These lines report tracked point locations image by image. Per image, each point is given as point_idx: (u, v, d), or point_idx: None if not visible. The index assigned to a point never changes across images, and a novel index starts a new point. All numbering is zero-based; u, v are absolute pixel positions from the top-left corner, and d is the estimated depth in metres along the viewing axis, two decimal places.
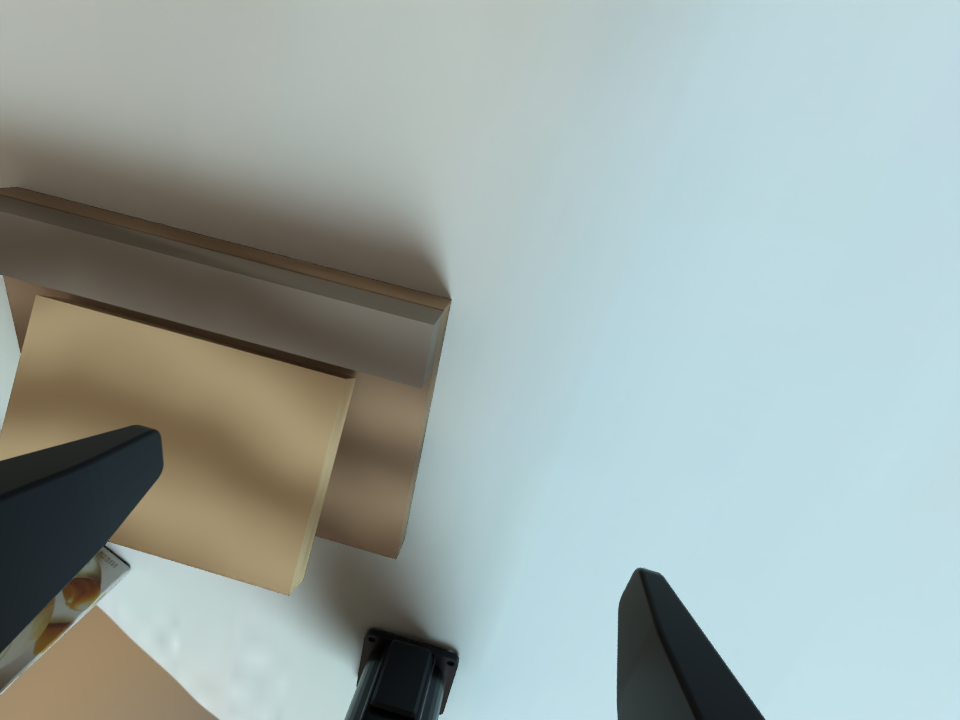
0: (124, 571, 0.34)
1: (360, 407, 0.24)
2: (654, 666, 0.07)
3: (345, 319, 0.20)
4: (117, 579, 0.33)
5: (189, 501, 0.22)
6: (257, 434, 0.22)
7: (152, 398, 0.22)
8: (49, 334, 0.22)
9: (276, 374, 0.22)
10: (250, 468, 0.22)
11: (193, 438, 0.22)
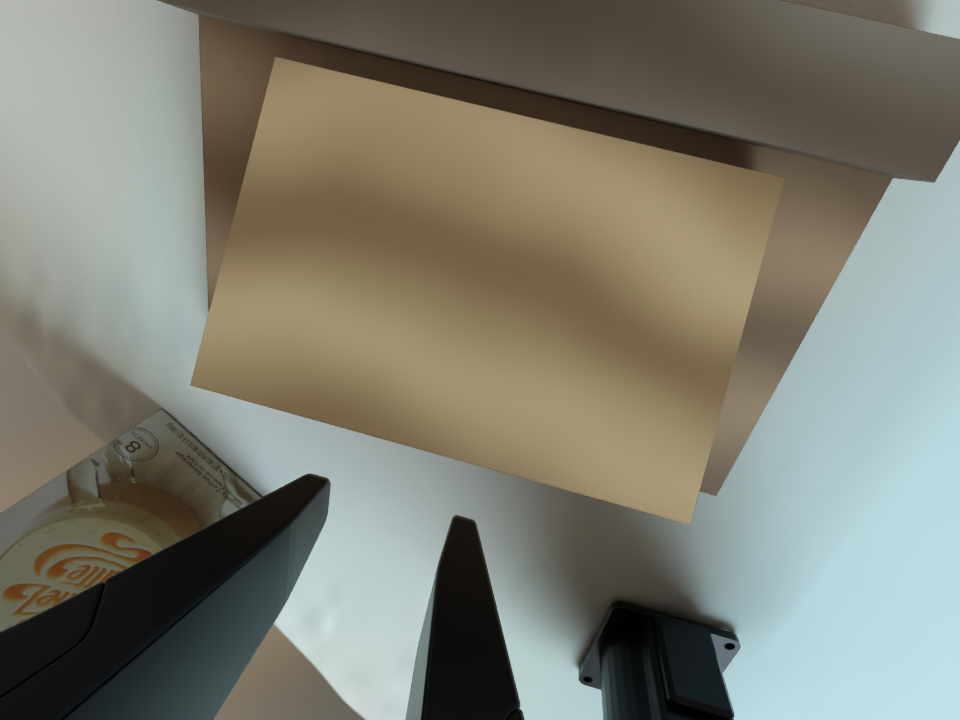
0: None
1: None
2: (430, 600, 0.07)
3: (839, 53, 0.12)
4: None
5: (524, 377, 0.14)
6: (637, 268, 0.14)
7: (464, 215, 0.14)
8: (297, 118, 0.14)
9: (669, 172, 0.14)
10: (626, 323, 0.14)
11: (532, 276, 0.14)
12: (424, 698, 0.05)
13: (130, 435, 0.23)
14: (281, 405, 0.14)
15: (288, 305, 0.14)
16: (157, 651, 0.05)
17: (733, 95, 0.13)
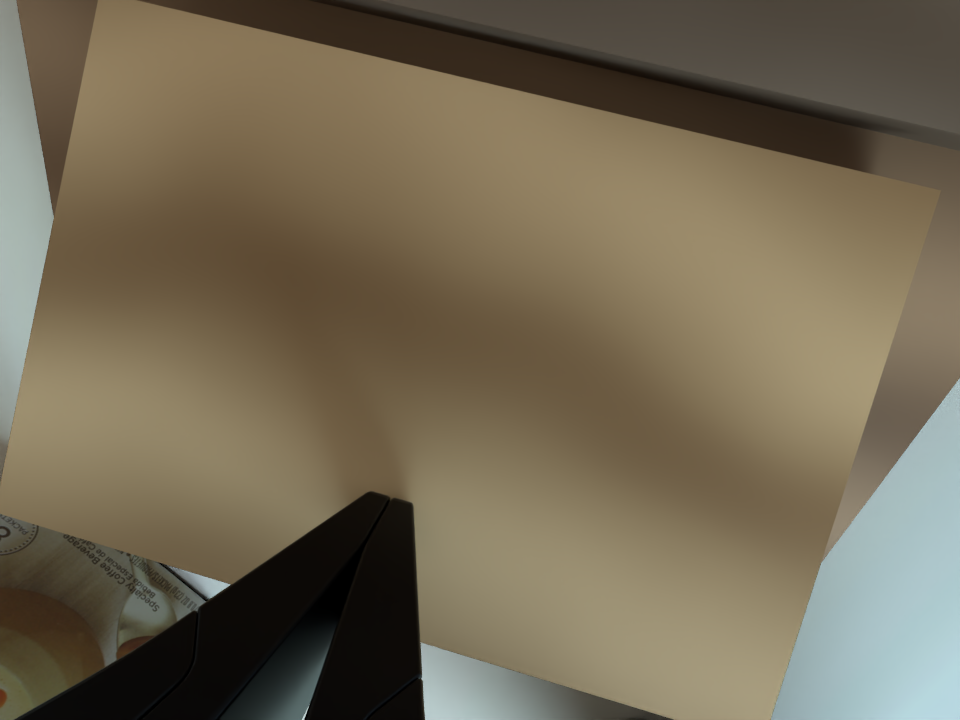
0: None
1: None
2: None
3: None
4: None
5: (502, 512, 0.09)
6: (687, 340, 0.08)
7: (406, 252, 0.09)
8: (137, 93, 0.09)
9: (743, 182, 0.08)
10: (666, 429, 0.08)
11: (514, 353, 0.09)
12: (322, 667, 0.05)
13: None
14: (130, 546, 0.09)
15: (134, 394, 0.09)
16: (257, 682, 0.05)
17: (870, 40, 0.07)
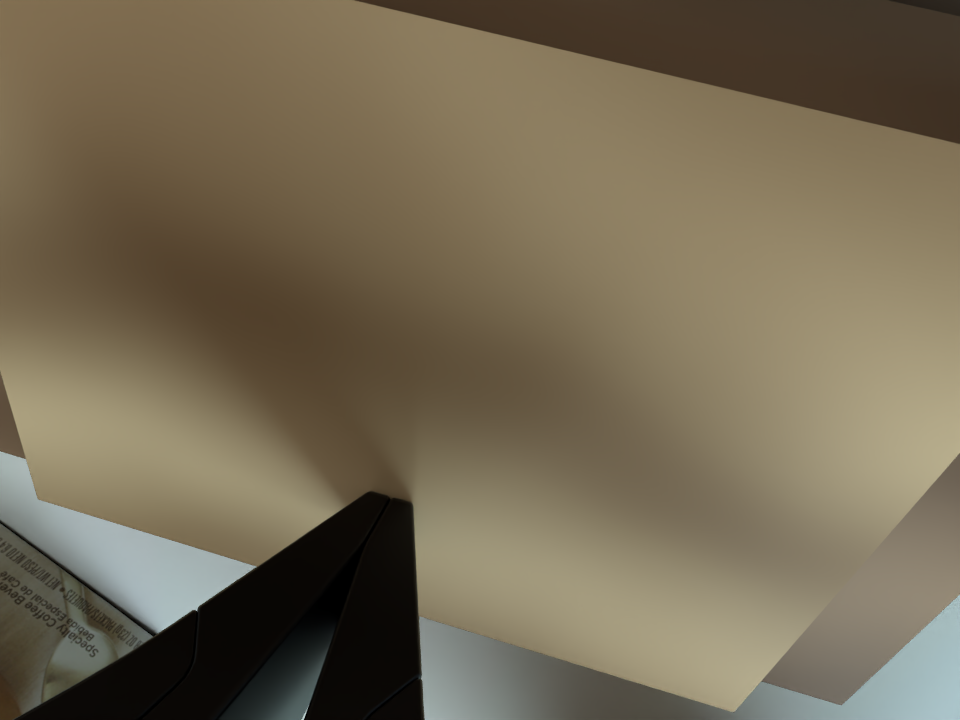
0: None
1: None
2: None
3: None
4: None
5: (495, 535, 0.09)
6: (716, 391, 0.07)
7: (364, 278, 0.07)
8: None
9: (843, 184, 0.05)
10: (678, 478, 0.07)
11: (503, 395, 0.07)
12: (322, 667, 0.05)
13: None
14: (159, 532, 0.10)
15: (116, 413, 0.09)
16: (257, 682, 0.05)
17: None
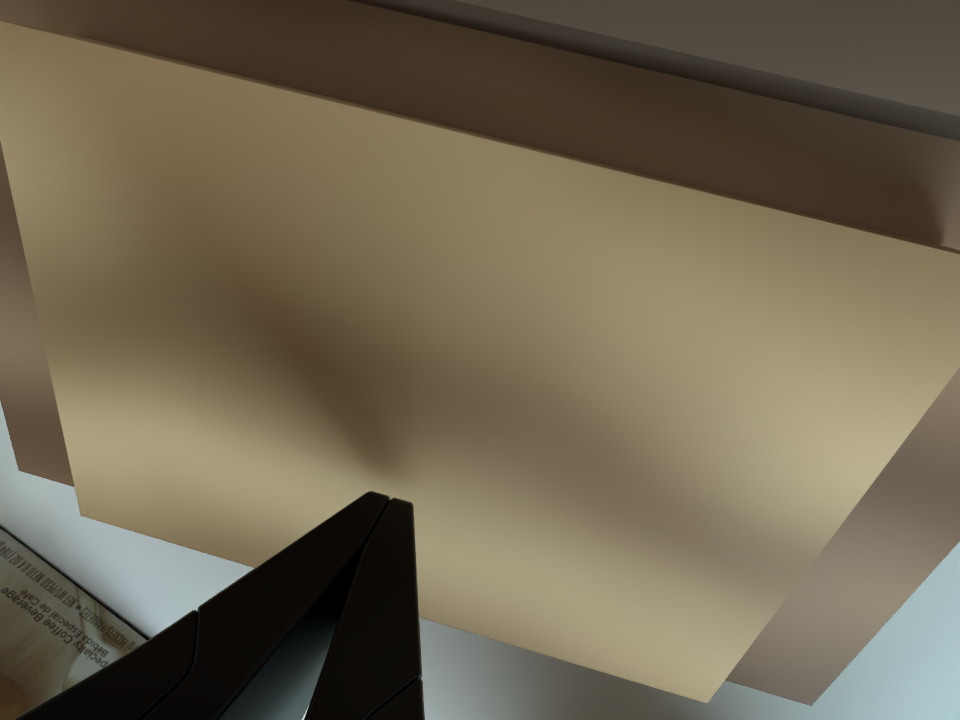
0: None
1: None
2: None
3: None
4: None
5: (493, 544, 0.10)
6: (678, 421, 0.08)
7: (381, 326, 0.08)
8: (62, 149, 0.08)
9: (770, 258, 0.07)
10: (649, 494, 0.09)
11: (499, 424, 0.09)
12: (322, 667, 0.05)
13: None
14: (191, 544, 0.11)
15: (158, 439, 0.10)
16: (257, 682, 0.05)
17: None
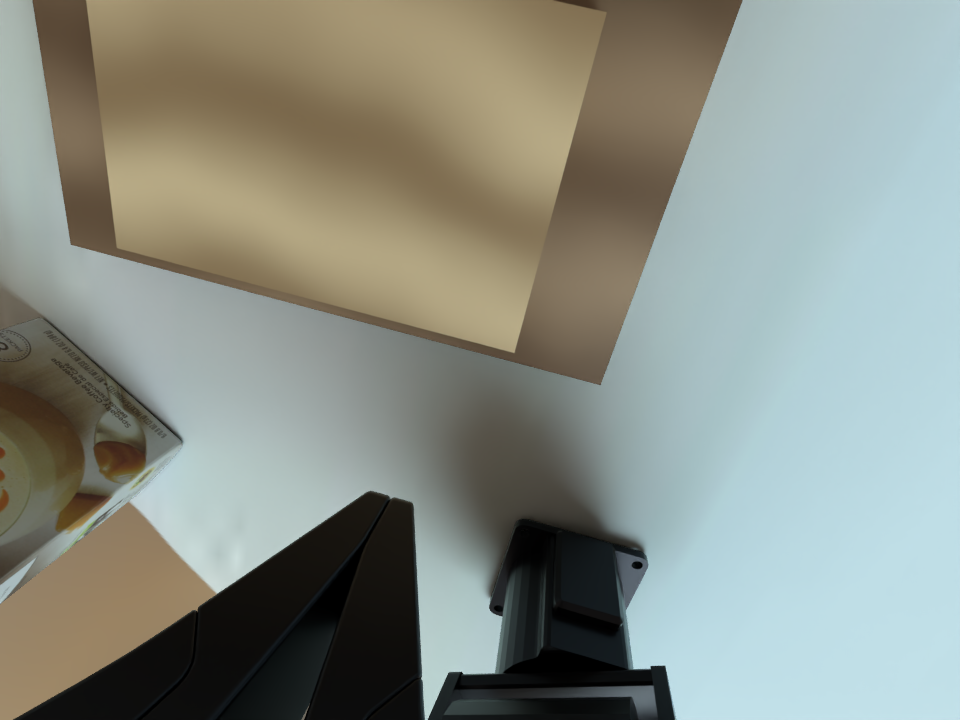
0: (176, 444, 0.25)
1: (596, 90, 0.15)
2: None
3: None
4: (167, 453, 0.24)
5: (372, 235, 0.16)
6: (460, 127, 0.14)
7: (295, 77, 0.14)
8: None
9: (486, 14, 0.13)
10: (454, 183, 0.15)
11: (365, 140, 0.15)
12: (322, 667, 0.05)
13: None
14: (189, 263, 0.18)
15: (168, 176, 0.16)
16: (257, 682, 0.05)
17: None
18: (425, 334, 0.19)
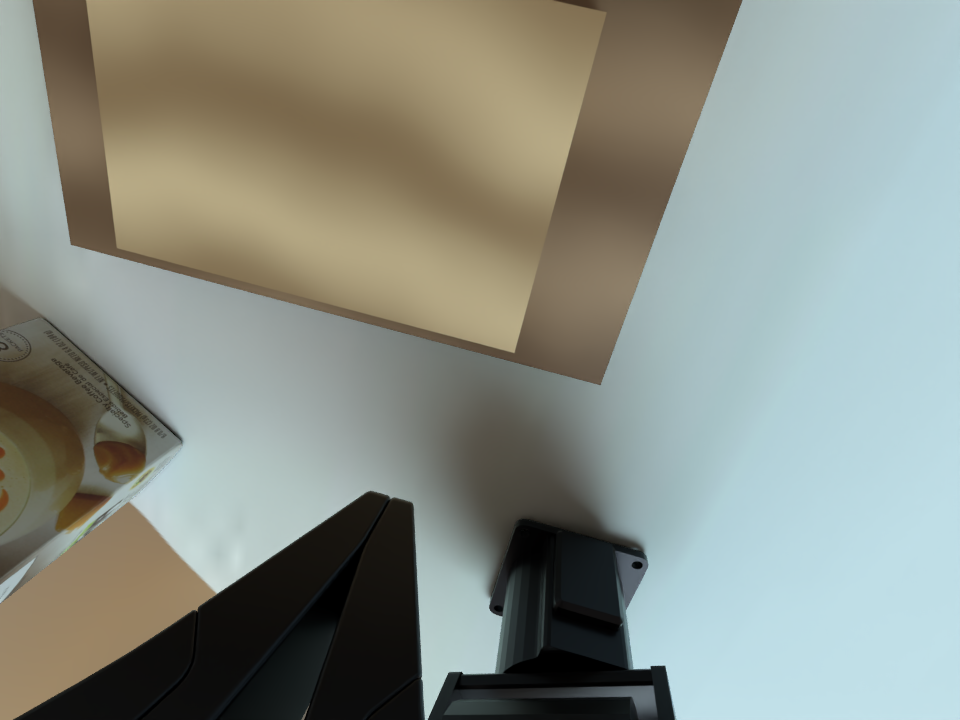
0: (176, 445, 0.25)
1: (596, 90, 0.15)
2: None
3: None
4: (167, 453, 0.24)
5: (372, 235, 0.16)
6: (460, 127, 0.14)
7: (295, 77, 0.14)
8: None
9: (486, 14, 0.13)
10: (453, 183, 0.15)
11: (365, 140, 0.15)
12: (322, 667, 0.05)
13: None
14: (188, 263, 0.18)
15: (168, 176, 0.16)
16: (257, 682, 0.05)
17: None
18: (425, 334, 0.19)
